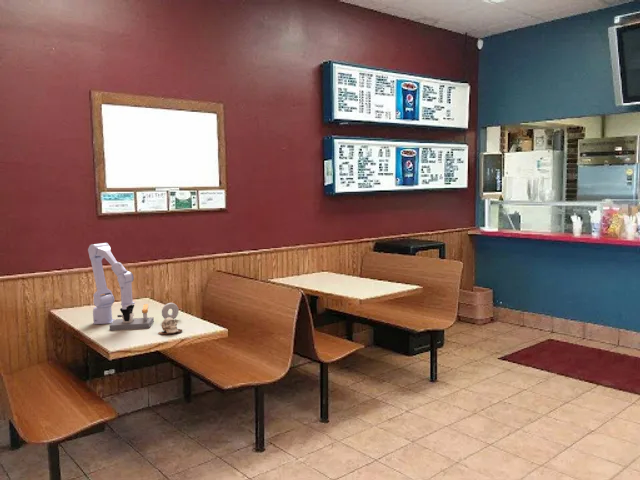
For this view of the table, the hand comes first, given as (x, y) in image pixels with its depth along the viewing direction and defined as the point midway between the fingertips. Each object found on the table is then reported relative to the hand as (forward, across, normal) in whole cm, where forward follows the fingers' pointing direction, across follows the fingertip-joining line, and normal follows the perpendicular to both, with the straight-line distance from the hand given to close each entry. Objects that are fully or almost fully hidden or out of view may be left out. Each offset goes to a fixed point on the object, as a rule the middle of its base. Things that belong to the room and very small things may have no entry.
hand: (128, 319), depth 295 cm
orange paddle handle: (-4, +7, -8) cm, 11 cm away
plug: (+3, 0, +1) cm, 4 cm away
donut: (+4, +8, -21) cm, 23 cm away
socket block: (+3, 0, -2) cm, 4 cm away
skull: (+4, -18, -25) cm, 31 cm away
